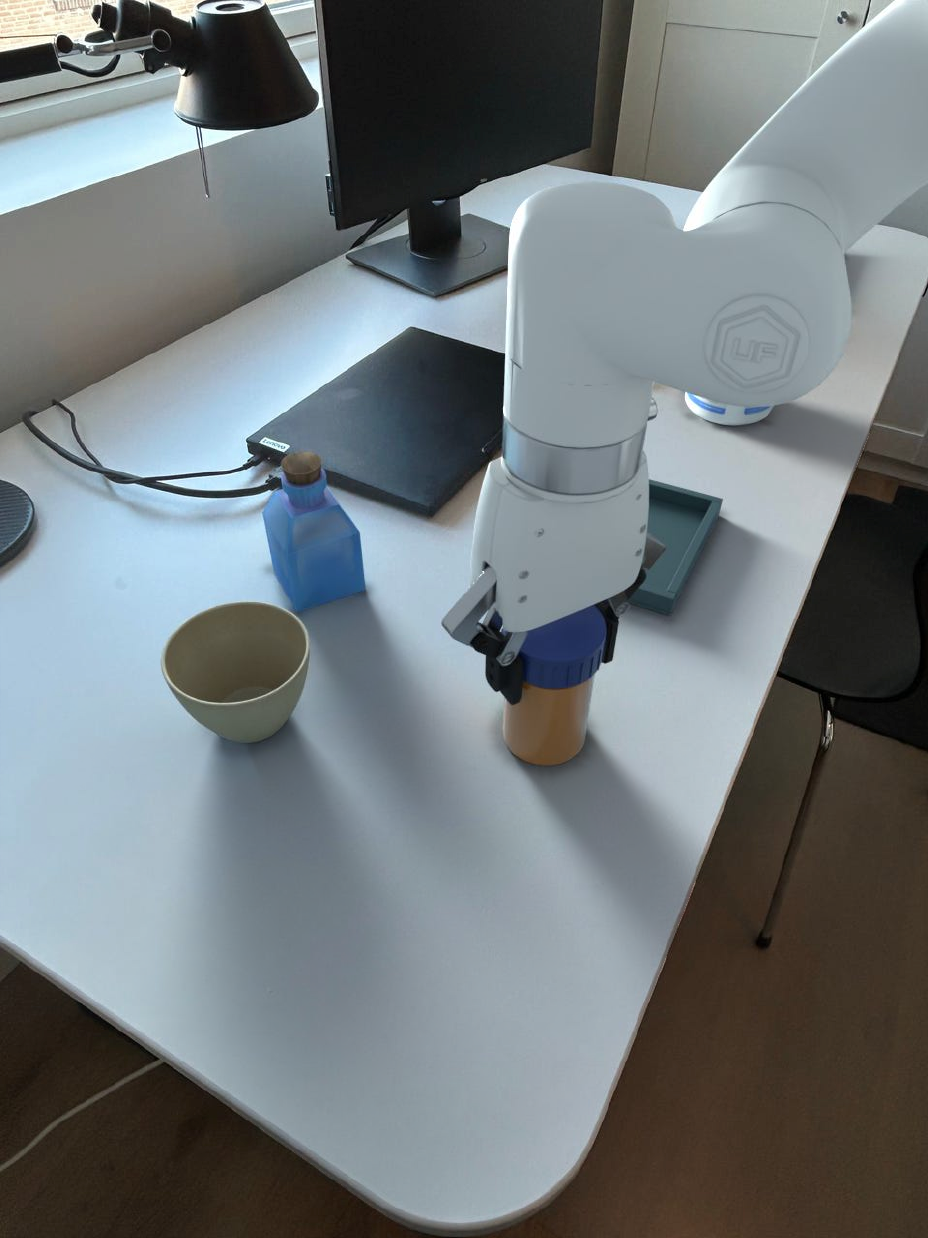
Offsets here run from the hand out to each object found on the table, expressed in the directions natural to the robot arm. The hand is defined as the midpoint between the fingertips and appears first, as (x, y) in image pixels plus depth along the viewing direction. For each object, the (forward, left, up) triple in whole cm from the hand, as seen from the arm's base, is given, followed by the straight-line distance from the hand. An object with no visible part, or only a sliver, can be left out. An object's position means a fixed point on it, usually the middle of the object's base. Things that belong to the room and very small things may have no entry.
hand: (550, 668), depth 59 cm
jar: (0, 0, -7) cm, 7 cm away
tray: (-17, -17, -7) cm, 25 cm away
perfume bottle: (+10, -23, -7) cm, 26 cm away
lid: (0, 0, +4) cm, 4 cm away
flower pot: (+19, -10, -7) cm, 23 cm away
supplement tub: (-40, -33, -7) cm, 52 cm away
